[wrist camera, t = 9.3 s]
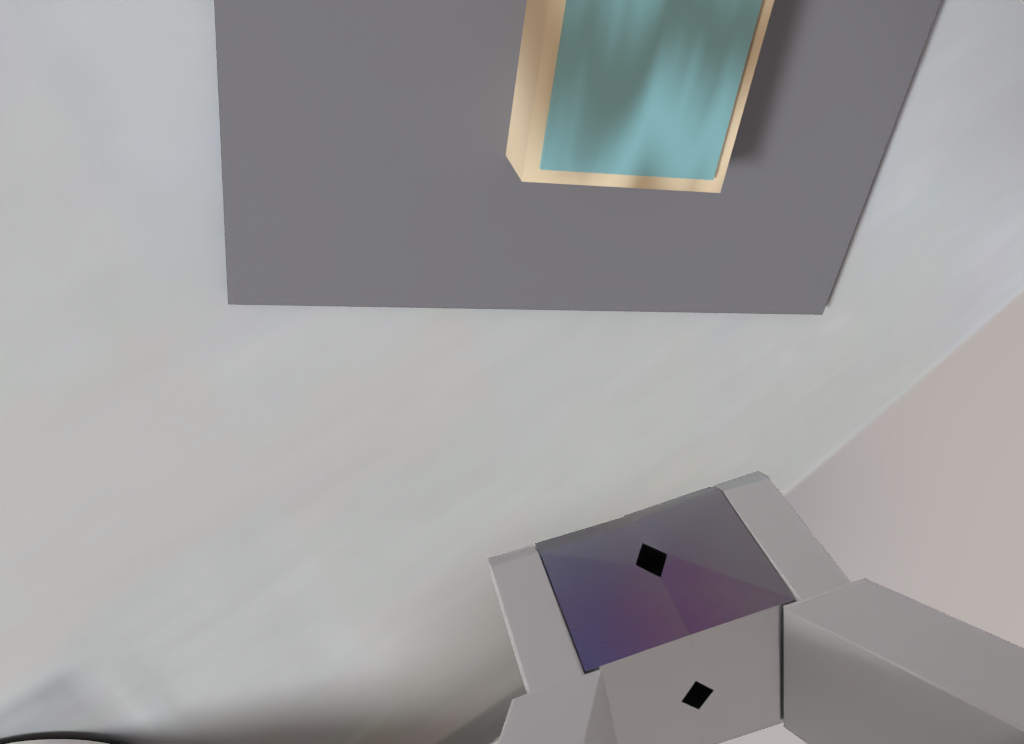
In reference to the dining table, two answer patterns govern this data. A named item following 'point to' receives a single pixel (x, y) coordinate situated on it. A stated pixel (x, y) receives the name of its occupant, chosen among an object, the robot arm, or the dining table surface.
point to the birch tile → (633, 91)
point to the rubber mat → (530, 205)
